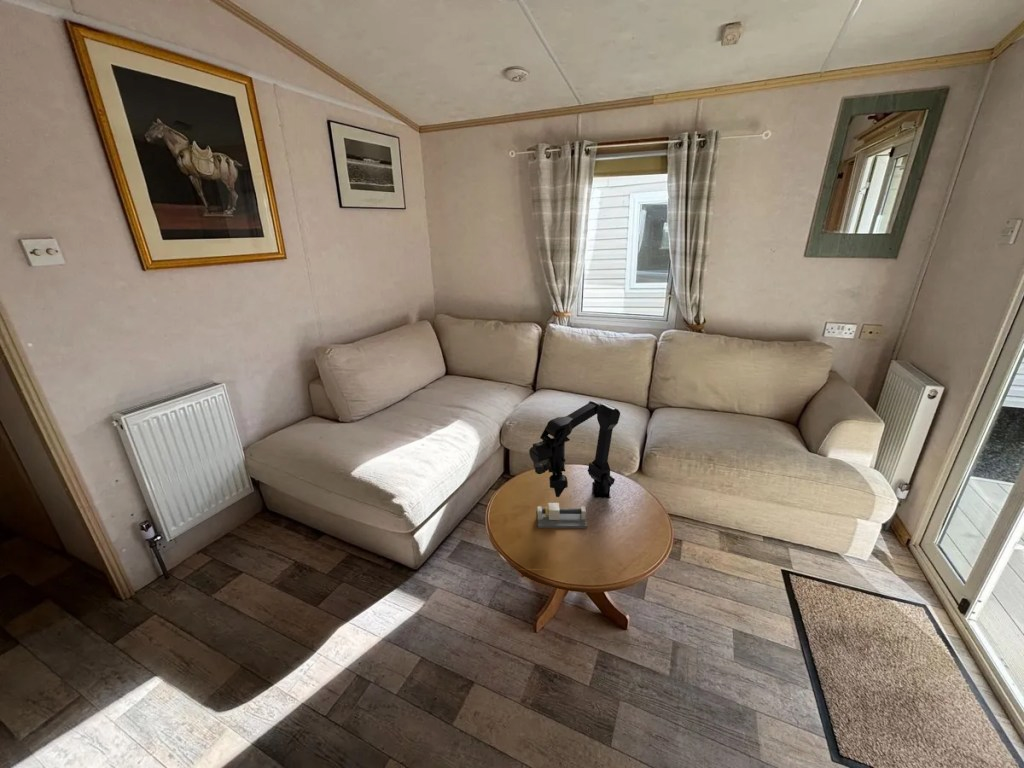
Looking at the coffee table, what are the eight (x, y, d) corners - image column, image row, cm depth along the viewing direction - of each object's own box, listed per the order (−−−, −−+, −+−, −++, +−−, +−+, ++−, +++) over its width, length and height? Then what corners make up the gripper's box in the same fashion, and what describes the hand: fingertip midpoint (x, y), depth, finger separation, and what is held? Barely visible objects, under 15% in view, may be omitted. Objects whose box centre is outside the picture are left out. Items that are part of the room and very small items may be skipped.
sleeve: (558, 512, 153) (558, 502, 151) (559, 519, 149) (559, 510, 147) (548, 512, 153) (548, 502, 152) (548, 519, 149) (548, 510, 147)
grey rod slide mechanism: (583, 510, 156) (583, 499, 154) (586, 528, 146) (587, 516, 145) (537, 510, 156) (537, 499, 155) (538, 527, 147) (538, 516, 145)
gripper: (533, 441, 153) (534, 475, 159) (535, 468, 136) (536, 505, 141) (562, 440, 153) (562, 474, 158) (568, 467, 135) (567, 505, 141)
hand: (556, 489), depth 150 cm, fingers open, 9 cm apart
